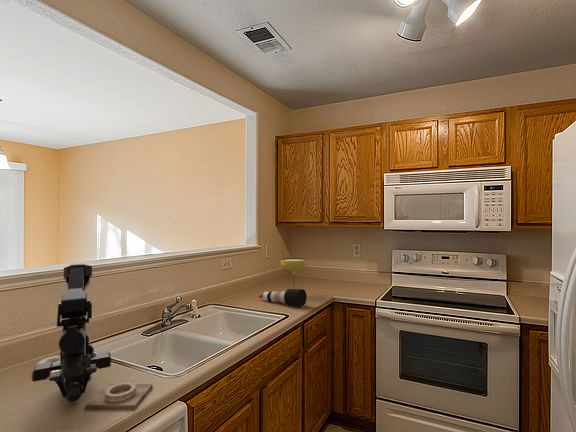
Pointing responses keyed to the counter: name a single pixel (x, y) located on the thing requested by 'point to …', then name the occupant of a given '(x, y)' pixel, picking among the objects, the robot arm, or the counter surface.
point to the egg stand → (119, 396)
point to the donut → (54, 360)
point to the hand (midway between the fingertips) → (73, 395)
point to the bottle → (286, 297)
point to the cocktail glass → (293, 265)
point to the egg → (73, 392)
